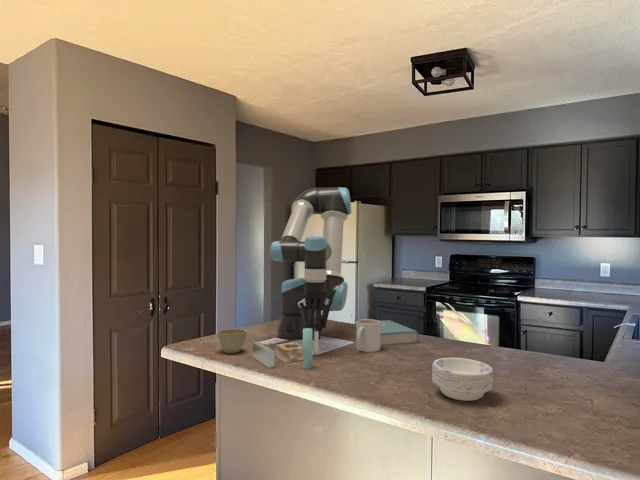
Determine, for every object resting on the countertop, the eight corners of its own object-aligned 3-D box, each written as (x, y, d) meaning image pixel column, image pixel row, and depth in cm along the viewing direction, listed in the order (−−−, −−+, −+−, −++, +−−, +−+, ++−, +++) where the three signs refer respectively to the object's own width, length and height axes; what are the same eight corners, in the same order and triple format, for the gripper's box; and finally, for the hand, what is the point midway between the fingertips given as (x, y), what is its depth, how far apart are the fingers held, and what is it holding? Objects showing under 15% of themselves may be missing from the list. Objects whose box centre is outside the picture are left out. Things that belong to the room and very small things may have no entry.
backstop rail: (258, 356, 155) (258, 341, 155) (274, 367, 143) (274, 351, 142) (252, 357, 154) (252, 342, 154) (268, 367, 142) (268, 351, 141)
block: (296, 353, 158) (296, 342, 158) (307, 359, 151) (307, 347, 151) (275, 356, 155) (275, 344, 154) (285, 362, 148) (285, 350, 147)
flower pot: (249, 348, 165) (249, 328, 165) (242, 355, 155) (242, 335, 155) (222, 347, 166) (222, 328, 166) (213, 354, 156) (213, 334, 156)
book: (356, 333, 192) (357, 322, 192) (391, 331, 197) (391, 319, 197) (380, 346, 171) (380, 333, 171) (418, 343, 176) (418, 330, 176)
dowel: (309, 365, 144) (309, 327, 144) (313, 368, 142) (314, 329, 142) (300, 366, 143) (301, 328, 143) (305, 369, 140) (305, 330, 140)
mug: (374, 345, 171) (374, 318, 171) (385, 351, 162) (385, 323, 162) (347, 347, 168) (347, 320, 168) (357, 353, 159) (357, 325, 159)
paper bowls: (505, 402, 114) (506, 370, 114) (452, 408, 110) (453, 375, 110) (469, 382, 129) (469, 355, 129) (421, 387, 124) (421, 358, 124)
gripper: (326, 279, 163) (325, 345, 164) (293, 280, 157) (292, 349, 157) (337, 281, 157) (336, 349, 157) (303, 282, 150) (302, 354, 151)
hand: (314, 349), depth 157 cm, fingers closed
